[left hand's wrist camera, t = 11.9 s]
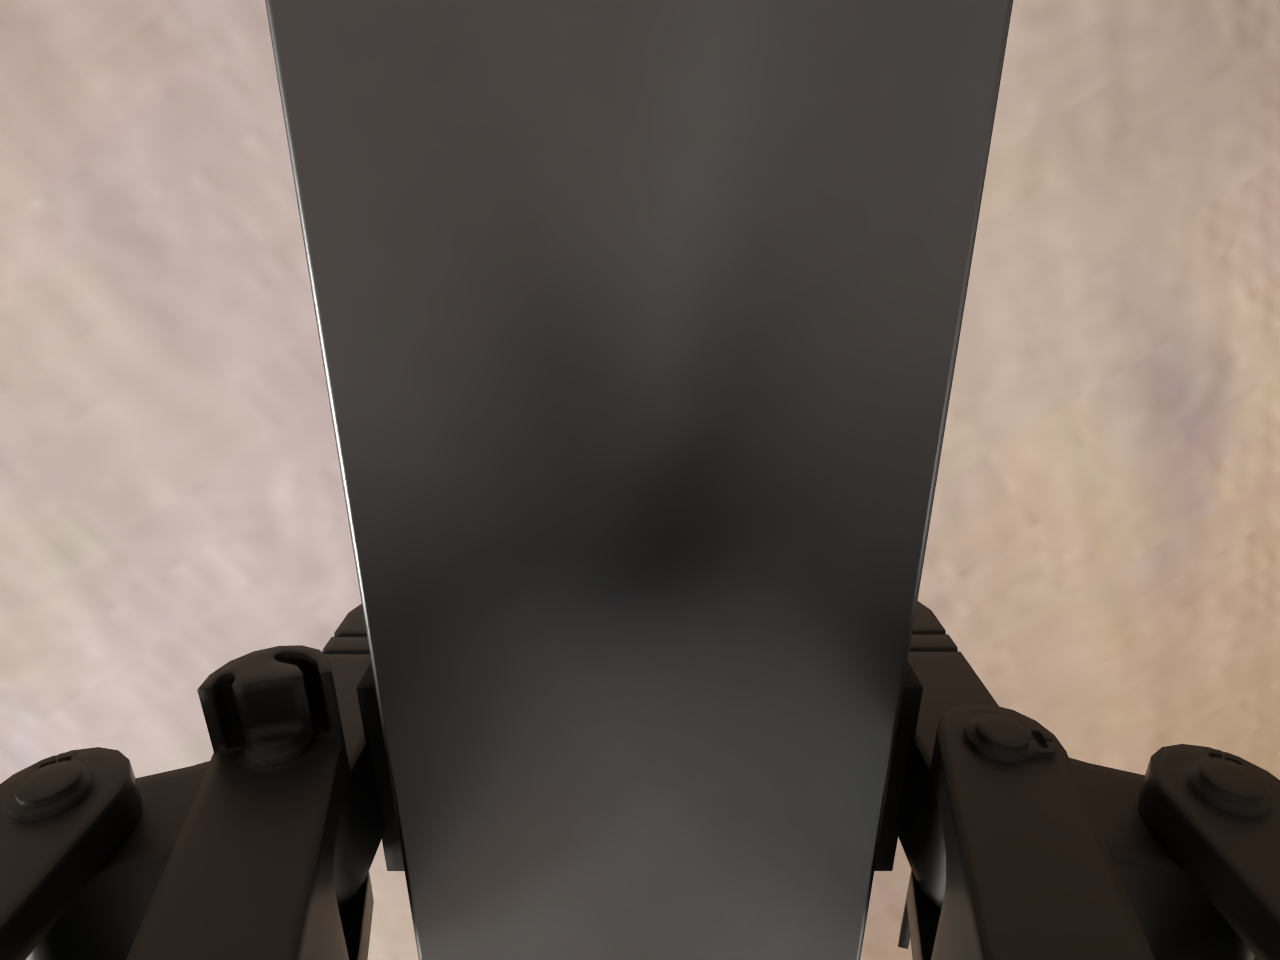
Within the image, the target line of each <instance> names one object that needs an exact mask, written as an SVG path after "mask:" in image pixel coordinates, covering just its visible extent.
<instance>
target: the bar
mask: <svg viewBox="0 0 1280 960" xmlns="http://www.w3.org/2000/svg"><path fill="white" fill-rule="evenodd" d="M265 2H266V8H267V15H268V21H269V27H270V33H271V39H272V46H273V52H274V58H275V64H276V71H277V77H278V83H279V89H280V96H281V102H282V108H283V114H284V121H285V127H286V133H287V139H288V145H289V152H290V158H291V164H292V170H293V177H294V183H295V189H296V195H297V202H298V208H299V214H300V220H301V227H302V233H303V239H304V245H305V252H306V258H307V264H308V270H309V276H310V283H311V289H312V295H313V301H314V308H315V314H316V320H317V326H318V333H319V339H320V345H321V351H322V358H323V364H324V370H325V376H326V382H327V389H328V395H329V401H330V407H331V414H332V420H333V426H334V432H335V439H336V445H337V451H338V457H339V464H340V470H341V476H342V482H343V488H344V495H345V501H346V507H347V513H348V520H349V526H350V532H351V538H352V545H353V551H354V557H355V563H356V570H357V576H358V582H359V588H360V595H361V601H362V607H363V613H364V619H365V626H366V632H367V638H368V644H369V651H370V657H371V663H372V669H373V676H374V682H375V688H376V694H377V701H378V707H379V713H380V719H381V725H382V732H383V738H384V744H385V750H386V757H387V763H388V769H389V775H390V782H391V788H392V794H393V800H394V807H395V813H396V819H397V825H398V832H399V838H400V844H401V850H402V856H403V863H404V869H405V875H406V881H407V888H408V894H409V900H410V906H411V913H412V919H413V925H414V931H415V938H416V944H417V950H418V956H419V960H860V956H861V950H862V944H863V938H864V931H865V925H866V919H867V913H868V906H869V900H870V894H871V888H872V881H873V875H874V869H875V862H876V856H877V850H878V844H879V837H880V831H881V825H882V819H883V812H884V806H885V800H886V794H887V787H888V781H889V775H890V769H891V762H892V756H893V750H894V743H895V737H896V731H897V725H898V718H899V712H900V706H901V700H902V693H903V687H904V681H905V675H906V668H907V662H908V656H909V650H910V643H911V637H912V631H913V625H914V618H915V612H916V606H917V599H918V593H919V587H920V581H921V574H922V568H923V562H924V556H925V549H926V543H927V537H928V531H929V524H930V518H931V512H932V506H933V499H934V493H935V487H936V480H937V474H938V468H939V462H940V455H941V449H942V443H943V437H944V430H945V424H946V418H947V412H948V405H949V399H950V393H951V387H952V380H953V374H954V368H955V361H956V355H957V349H958V343H959V336H960V330H961V324H962V318H963V311H964V305H965V299H966V293H967V286H968V280H969V274H970V268H971V261H972V255H973V249H974V243H975V236H976V230H977V224H978V217H979V211H980V205H981V199H982V192H983V186H984V180H985V174H986V167H987V161H988V155H989V149H990V142H991V136H992V130H993V124H994V117H995V111H996V105H997V98H998V92H999V86H1000V80H1001V73H1002V67H1003V61H1004V55H1005V48H1006V42H1007V36H1008V30H1009V23H1010V17H1011V11H1012V5H1013V0H265Z"/></svg>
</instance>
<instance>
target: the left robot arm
mask: <svg viewBox="0 0 1280 960" xmlns="http://www.w3.org/2000/svg"><path fill="white" fill-rule="evenodd" d="M198 694H199V698H200V701H201V705H202V709H203V713H204V716H205V720H206V724H207V728H208V731H209V735H210V739H211V743H212V746H213V750H214V754H213V756H212V758H211V761H208V762H205V763H201V764H198V765H194V766H191V767H186V768H182V769H177V770H172V771H168V772H163V773H159V774H154V775H150V776H145V777H141V778H136V779H135V776H134V773H133V770H132V767H131V764H130V761H129V759H128V758H126V757H125V756H124V755H123V754H122V753H121V752H119V751H118V750H112V749H106V748H100V747H97V748H88V749H80V750H72V751H69V752H66V753H62V754H59V755H57V756H52V757H49V758H47V759H44V760H41V761H39V762H37V763H36V764H34V765H32V766H30V767H28V768H26V769H24V770H22V771H20V772H18V773H16V774H14V775H12V776H11V777H10V778H8V779H7V780H5V781H4V782H3V783H1V784H0V960H367V958H368V948H369V939H370V930H371V921H372V911H373V902H374V901H373V894H372V886H371V881H370V875H369V869H370V866H371V864H372V861H373V859H374V856H375V854H376V851H377V849H378V846H379V844H380V841H381V839H382V842H383V848H384V854H385V860H386V866H387V871H405V869H404V863H403V856H402V850H401V844H400V838H399V832H398V825H397V819H396V813H395V807H394V800H393V794H392V788H391V782H390V775H389V769H388V763H387V757H386V750H385V744H384V738H383V732H382V725H381V719H380V713H379V707H378V701H377V694H376V688H375V682H374V676H373V669H372V663H371V657H370V651H369V644H368V638H367V632H366V626H365V619H364V613H363V607H362V604H361V605H359V606H358V607H356V608H355V609H353V610H352V611H351V612H349V613H348V614H347V616H346V617H345V619H344V620H343V622H342V623H341V624H340V626H339V627H338V629H337V630H336V632H335V633H334V637H331V639H330V640H329V642H328V643H327V644H326V646H325V647H324V649H323V653H322V652H321V651H320V650H318V649H314V648H309V647H305V646H277V647H272V648H268V649H263V650H259V651H254V652H252V653H249V654H247V655H244V656H242V657H239V658H237V659H235V660H232V661H230V662H228V663H227V664H225V665H224V666H222V667H221V668H219V669H218V670H216V671H215V672H213V673H212V674H210V675H209V676H208V678H207V679H206V680H205V681H204V682H203V684H202V685H201V686H200V687H199V688H198ZM898 836H899V839H900V841H901V844H902V846H903V849H904V851H905V854H906V856H907V859H908V861H909V864H910V866H911V869H912V870H911V875H910V881H909V886H908V892H907V897H906V903H905V908H904V913H903V919H902V924H901V930H900V937H899V944H898V947H902V948H906V949H908V946H909V941H910V937H911V947H912V956H913V960H1280V780H1278V779H1277V778H1276V777H1274V776H1273V775H1272V774H1270V773H1269V772H1268V771H1266V770H1264V769H1262V768H1260V767H1258V766H1256V765H1254V764H1252V763H1250V762H1248V761H1246V760H1244V759H1242V758H1240V757H1238V756H1235V755H1232V754H1230V753H1227V752H1222V751H1220V750H1216V749H1212V748H1209V747H1203V746H1194V745H1186V744H1179V745H1173V746H1167V747H1162V748H1161V749H1159V750H1158V751H1157V752H1156V753H1155V754H1154V755H1152V756H1151V759H1150V762H1149V765H1148V768H1147V771H1146V774H1145V775H1140V774H1136V773H1131V772H1126V771H1122V770H1117V769H1113V768H1108V767H1104V766H1099V765H1094V764H1090V763H1086V762H1083V761H1079V760H1076V759H1072V758H1069V757H1068V755H1067V752H1066V751H1065V749H1064V748H1063V746H1062V745H1061V744H1060V742H1059V741H1058V739H1057V738H1056V737H1055V735H1054V734H1052V733H1051V732H1050V731H1048V730H1047V729H1046V728H1044V727H1043V726H1042V725H1040V724H1039V723H1038V722H1037V721H1035V720H1033V719H1031V718H1029V717H1026V716H1024V715H1022V714H1020V713H1018V712H1016V711H1014V710H1010V709H1006V708H1002V707H999V706H998V704H997V703H996V701H995V700H994V699H993V697H992V696H991V694H990V693H989V692H988V690H987V689H986V687H985V686H984V684H983V683H982V682H981V680H980V679H979V677H978V676H977V675H976V673H975V672H974V670H973V669H972V667H971V666H970V665H969V663H968V662H967V660H966V659H965V658H964V656H963V655H962V653H961V652H958V650H957V646H956V645H955V643H954V642H953V641H952V639H951V638H950V636H949V635H946V633H945V629H944V628H943V626H942V625H941V624H940V622H939V621H938V619H937V618H936V616H935V615H934V614H933V612H932V611H931V610H930V609H929V608H927V607H926V606H924V605H923V604H921V603H920V602H918V601H917V606H916V612H915V618H914V625H913V631H912V637H911V643H910V650H909V656H908V662H907V668H906V675H905V681H904V687H903V693H902V700H901V706H900V712H899V718H898V725H897V731H896V737H895V743H894V750H893V756H892V762H891V769H890V775H889V781H888V787H887V794H886V800H885V806H884V812H883V819H882V825H881V831H880V837H879V844H878V850H877V856H876V862H875V869H874V871H892V869H893V863H894V857H895V851H896V845H897V839H898Z"/></svg>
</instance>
